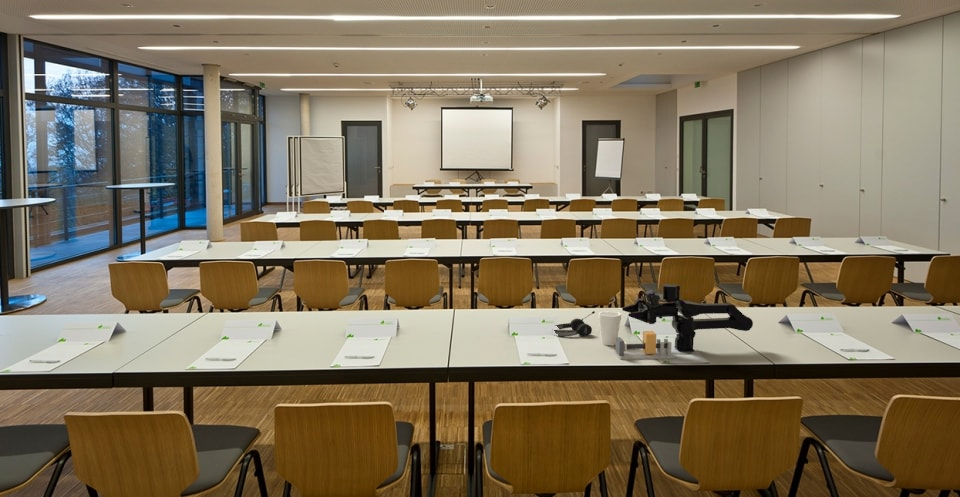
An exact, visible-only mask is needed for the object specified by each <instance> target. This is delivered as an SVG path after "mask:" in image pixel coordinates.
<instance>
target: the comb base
mask: <svg viewBox="0 0 960 497" xmlns="http://www.w3.org/2000/svg"><path fill="white" fill-rule="evenodd" d="M624 342H625V340H624V339H623V338H621V337H620V336H618V337H616V345H615V349H614V350H613V352H614V354H615V355H616V356H617V358H619V360H655V359H656V360H659V359H661V360H664V359H668V360H669V359H676V356H675V355H674V354H673V353H672V342H671V341H669V340H668V339H667V338H663V341H661V339H660V338H656V343H660V348H656V354H645V353H644V352H643V351H642V349H627V351H624ZM664 343H668V345H667V348H664Z"/></svg>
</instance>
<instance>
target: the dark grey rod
mask: <svg viewBox="0 0 960 497" xmlns="http://www.w3.org/2000/svg"><path fill="white" fill-rule="evenodd" d="M667 345H668V343H664V348H667ZM656 348H660V343H657V342H656ZM642 349H645V344H643V343H627V342H626V341H624V351H627V350H642Z"/></svg>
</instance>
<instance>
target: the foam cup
mask: <svg viewBox="0 0 960 497" xmlns="http://www.w3.org/2000/svg"><path fill="white" fill-rule="evenodd" d="M621 320H622V313H621V312H618V311H612V310H611V311H607V310H606V311H605V310H604V311H600V312H598V324H599V332H600V341H601V344H602V345H603V344H604V346H608V345H612V346H616V337H619V332H620V325H621Z"/></svg>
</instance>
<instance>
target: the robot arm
mask: <svg viewBox="0 0 960 497" xmlns="http://www.w3.org/2000/svg"><path fill="white" fill-rule="evenodd" d="M680 290H681V286H680V285H679V284H670V283H665V284H662V300H664V302H659V301H660V300H661V297H660V295H659V294H656V292H655V291H654V290H653V289H649V290H646V291H644V293H643V294H644V296H645V299H646V301H645V300H644V299H643V298H636V300H635V302H634V303H633V304H630V305H627V306H623V307H622V308H621V309H622V311H624V312H626V313H628V315H627V316H628V317H629V318H632V319H636V320H639V321H641V322H643V323H646V324H649V325H655V324H656V322H657V318H658V319H663V318H667V317H669V318H671V317H672V320H671V326H672V328H673V329H674V330H675V333H677V334H676V337H675V338H674V349H675V350H677V351H678V352H695V349H694V341H695V340H694V338H695V337H696V335H697V334H696V331H697V330H713V329H714V330H718V329H720V330H721V329H732V330H737V331H742V332H747V331H750V330H751V329H752V328H753V324H754V321H753V320H752V318H751V317H748V316H747V315H745V314H743V313H742V312H741V311H740V310H739V309H738V308H737V306H736V305H734V304H733V303H731V302H726V303H723V302H722V303H720V302H718V303H717V302H715V303H714V302H713V303H712V302H711V303H710V302H708V303H706V302H704V303H701V302H700V303H699V302H694V301H691V300H690V301H689V300H684V299H682V298H680ZM703 314H709V315H710V314H711V315H713V314H724V315H725V314H727V315H728V317H716V318H715V317H714V318H694V317H697V316H699V315H703Z"/></svg>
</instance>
